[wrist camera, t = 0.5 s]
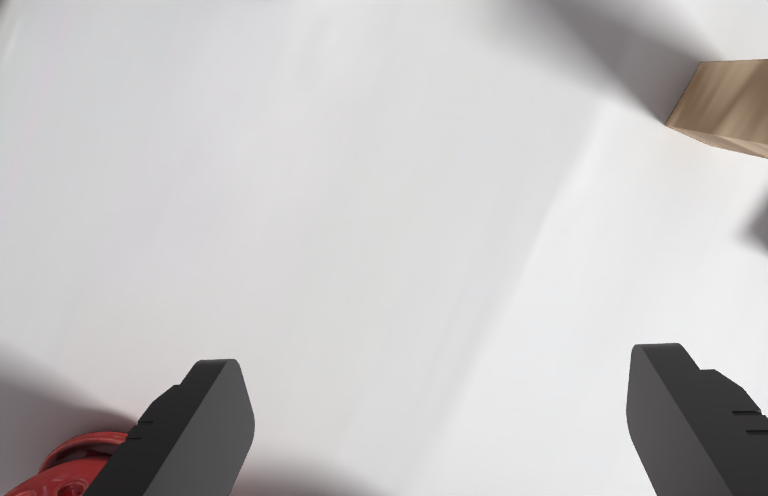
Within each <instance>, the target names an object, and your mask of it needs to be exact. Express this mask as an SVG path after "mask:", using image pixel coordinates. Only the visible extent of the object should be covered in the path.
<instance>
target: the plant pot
mask: <svg viewBox="0 0 768 496" xmlns="http://www.w3.org/2000/svg"><path fill="white" fill-rule="evenodd" d="M127 435H128V434H127V433H121V432H95V433H88V434H84V435H80V436H77V437H75V438H72V439H70V440H68V441H66V442H64V443H63V444H61V445H60V446H59V447H57V448H56V449H55V450H53V451H52V452H51V453H50V454H49V455H48V457H47V458H46V459H45V460H44V462H43V464H42V465H41V467H40V469H39V472H38V474H37V475H36V476H34V477H32V478H30V479H28V480H27V481H25V482H23V483H22V484H20V485H19V486H17V487H15V488H14V489H12V490H11V491H10V492H8V493H7V494H6V495H4V496H82V494H83V493H84V492H85V490H86V489H87V488H88V486H89V485H90V484H91V483H92V481H93V480H94V479H95V477H96V476H97V475H98V473H99V472H100V471H101V469H102V468H103V467H104V465H105V464H106V463H107V461H108V460H109V459H110V457H111V456H112V455H113V453H114V452H115V451H116V450H117V448H118V447H119V446H120V444H121V443H122V442H125V438H126V436H127Z"/></svg>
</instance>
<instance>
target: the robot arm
mask: <svg viewBox="0 0 768 496" xmlns="http://www.w3.org/2000/svg"><path fill="white" fill-rule="evenodd" d="M626 415H627V423H628V429H629V433H630V436H631V439H632V442H633V444H634V446H635V448H636V451H637V453H638V455H639V457H640V459H641V462H642V464H643V466H644V468H645V470H646V472H647V475H648V477H649V479H650V481H651V483H652V486H653V488H654V490H655V492H656V494H657V496H768V418H767V417H766V416H765V415H762V413H761V410H760V408H759V407H758V406H757V405H756V404H755V402H754V401H753V400H752V399H751V398H750V396H749V395H748V394H747V393H746V391H745V390H744V389H743V388H742V387H740V386H739V385H737V384H736V383H734V382H733V381H731V380H730V379H728V378H727V377H725V376H724V375H722V374H721V373H719V372H718V371H716V370H715V369H711V370H700V369H699V367H698V366H697V365H696V363H695V362H694V361H693V359H692V358H691V357H690V355H689V354H688V353H687V351H686V350H685V349H684V347H683V346H682V345H680V344H679V343H664V344H638V345H634V347H633V349H632V353H631V362H630V373H629V383H628V394H627V405H626ZM254 429H255V420H254V414H253V410H252V407H251V403H250V400H249V396H248V393H247V389H246V386H245V382H244V379H243V375H242V372H241V368H240V365H239V363H238V362H237V361H236V360H235V359H217V360H200V361H198V362H196V363H195V364H194V366H193V367H192V369H191V370H190V371H189V373H188V374H187V375H186V377H185V378H184V380H183V381H182V382H181V384H180V385H174V386H172V387H171V388H170V389H168V390H167V391H166V392H165V393H163V394H162V395H161V396H159V397H158V398H157V399H156V400H154V401H153V402H152V403H151V405H150V406H149V407H148V409H147V410H146V411H145V413H144V414H143V415H142V417H141V418H140V419H139V420H138V425H135V426H134V427H133V428H132V430H131V431H130V432H129V434H128V435H127V436H126V438H125V442H122V443H121V444H120V446H119V447H118V448H117V450H116V451H115V452H114V453H113V455H112V456H111V457H110V459H109V460H108V461H107V463H106V464H105V465H104V467H103V468H102V469H101V471H100V472H99V473H98V475H97V476H96V477H95V479H94V480H93V481H92V483H91V484H90V485H89V486H88V488H87V489H86V490H85V492H84V493H83V494H82V496H229V494H230V492H231V489H232V487H233V485H234V483H235V480H236V478H237V476H238V474H239V471H240V469H241V467H242V465H243V462H244V460H245V458H246V456H247V453H248V451H249V449H250V447H251V444H252V441H253V437H254Z"/></svg>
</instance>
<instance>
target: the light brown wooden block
mask: <svg viewBox="0 0 768 496" xmlns="http://www.w3.org/2000/svg"><path fill="white" fill-rule="evenodd" d="M665 126H667V127H669V128H672V129H674V130H676V131H678V132H681V133H683V134H685V135H687V136H690V137H692V138H694V139H696V140H699V141H701V142H703V143H705V144H708V145H710V146H713V147H718V148H722V149H727V150H731V151H736V152H740V153H745V154H749V155H753V156H758V157H762V158H767V159H768V59H759V60H737V61H716V62H701V64H700V65H699V67H698V69H697V71H696V72H695V74H694V76H693V77H692V79H691V81H690V83H689V84H688V86H687V88H686V90H685V91H684V93H683V95H682V96H681V98H680V100H679V102H678V103H677V105H676V107H675V109H674V110H673V112H672V114H671V115H670V117H669V119H668V121H667V122H666V124H665Z"/></svg>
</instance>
